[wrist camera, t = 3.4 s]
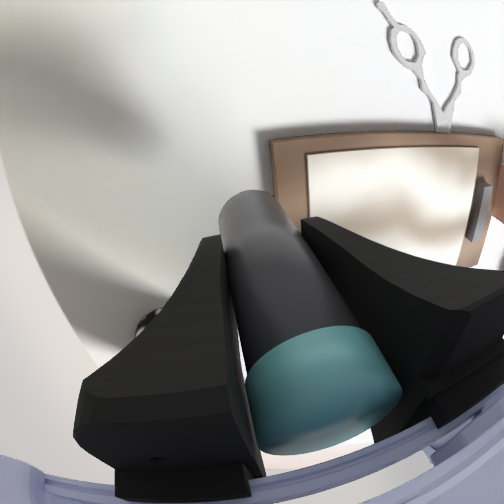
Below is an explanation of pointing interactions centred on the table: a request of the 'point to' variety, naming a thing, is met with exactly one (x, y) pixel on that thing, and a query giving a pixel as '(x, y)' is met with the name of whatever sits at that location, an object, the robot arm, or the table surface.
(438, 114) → the scissors
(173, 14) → the table surface
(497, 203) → the pen cup
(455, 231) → the clipboard
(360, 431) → the marker
